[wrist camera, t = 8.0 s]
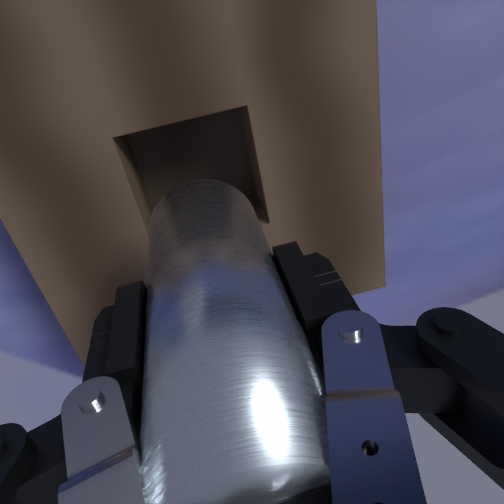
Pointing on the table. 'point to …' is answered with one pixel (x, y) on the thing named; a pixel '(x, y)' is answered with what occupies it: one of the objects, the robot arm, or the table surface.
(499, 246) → the table surface
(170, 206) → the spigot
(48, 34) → the socket block
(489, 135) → the table surface
